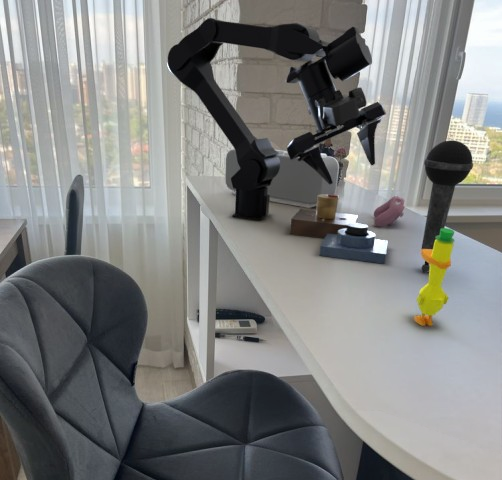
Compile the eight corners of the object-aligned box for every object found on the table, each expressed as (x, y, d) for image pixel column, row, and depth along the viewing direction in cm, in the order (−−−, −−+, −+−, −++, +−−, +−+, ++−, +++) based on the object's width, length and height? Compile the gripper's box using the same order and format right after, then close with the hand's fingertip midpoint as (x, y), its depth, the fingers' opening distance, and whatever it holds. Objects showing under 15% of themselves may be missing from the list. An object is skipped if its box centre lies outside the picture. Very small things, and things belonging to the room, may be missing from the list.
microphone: (424, 281, 78) (455, 143, 69) (394, 267, 83) (418, 137, 74) (456, 276, 81) (489, 143, 72) (425, 263, 86) (452, 137, 77)
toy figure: (398, 311, 66) (416, 220, 61) (424, 310, 67) (444, 220, 62) (421, 333, 60) (444, 235, 55) (449, 333, 61) (473, 235, 56)
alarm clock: (335, 204, 126) (341, 154, 121) (318, 210, 119) (324, 157, 114) (243, 188, 139) (245, 143, 134) (224, 193, 132) (225, 145, 127)
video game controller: (390, 235, 107) (410, 207, 104) (372, 224, 107) (392, 195, 104) (388, 224, 116) (407, 198, 113) (371, 214, 116) (390, 187, 113)
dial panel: (289, 234, 98) (291, 218, 97) (299, 222, 107) (300, 207, 106) (351, 241, 96) (353, 225, 94) (355, 229, 105) (358, 214, 103)
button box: (319, 255, 87) (321, 235, 85) (326, 242, 95) (328, 223, 93) (384, 263, 84) (388, 243, 83) (386, 249, 92) (389, 230, 91)
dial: (314, 217, 99) (316, 195, 97) (317, 213, 102) (319, 191, 100) (334, 219, 98) (337, 197, 96) (336, 215, 101) (339, 193, 100)
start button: (344, 236, 87) (346, 226, 86) (346, 231, 90) (348, 221, 89) (366, 239, 86) (367, 229, 85) (367, 234, 89) (368, 224, 89)
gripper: (286, 99, 85) (322, 186, 88) (382, 57, 87) (414, 144, 90) (272, 119, 96) (304, 196, 99) (358, 82, 98) (387, 158, 101)
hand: (352, 174), depth 97 cm, fingers open, 9 cm apart
